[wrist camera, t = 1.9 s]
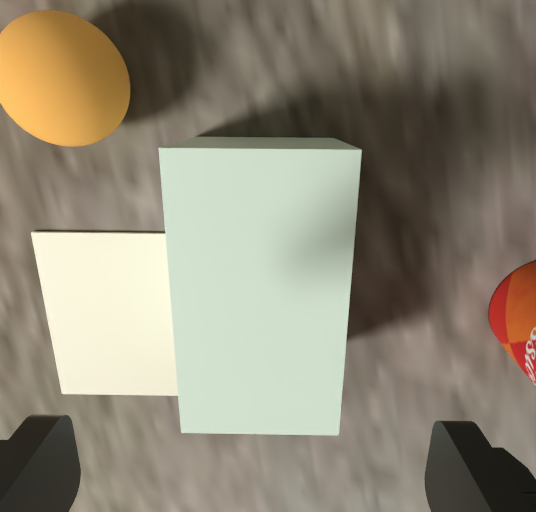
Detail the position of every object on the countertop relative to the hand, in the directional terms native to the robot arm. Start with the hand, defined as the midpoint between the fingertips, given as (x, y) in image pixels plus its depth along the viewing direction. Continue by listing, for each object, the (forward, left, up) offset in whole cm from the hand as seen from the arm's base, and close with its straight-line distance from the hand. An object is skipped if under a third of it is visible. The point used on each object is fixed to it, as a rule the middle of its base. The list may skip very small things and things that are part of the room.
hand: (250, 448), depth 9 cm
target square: (+4, -8, -13) cm, 16 cm away
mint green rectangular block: (0, 0, -13) cm, 13 cm away
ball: (-8, -8, -11) cm, 16 cm away
